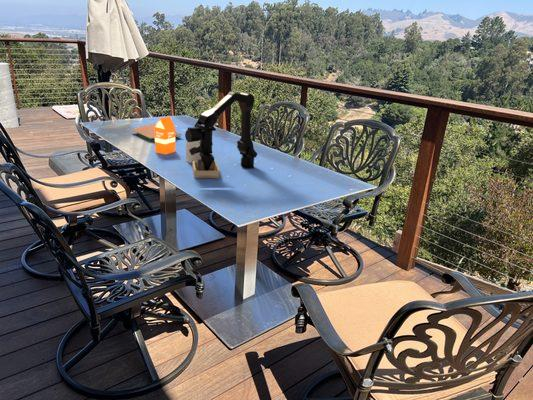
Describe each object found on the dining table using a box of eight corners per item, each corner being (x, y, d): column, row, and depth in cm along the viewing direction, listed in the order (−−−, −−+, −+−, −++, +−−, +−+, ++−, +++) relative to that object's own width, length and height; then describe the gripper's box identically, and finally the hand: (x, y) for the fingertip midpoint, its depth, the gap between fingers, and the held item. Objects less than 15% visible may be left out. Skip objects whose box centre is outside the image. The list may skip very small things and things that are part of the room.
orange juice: (155, 151, 224) (153, 117, 217) (165, 148, 232) (164, 115, 224) (165, 154, 221) (164, 119, 214) (175, 151, 229) (175, 117, 221)
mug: (189, 165, 206) (190, 145, 202) (183, 161, 213) (183, 141, 209) (210, 163, 213) (210, 144, 208) (203, 159, 219) (204, 139, 215)
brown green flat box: (152, 144, 240) (151, 131, 236) (128, 132, 261) (128, 120, 258) (184, 140, 255) (184, 128, 251) (159, 129, 276) (159, 118, 273)
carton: (215, 168, 206) (216, 160, 204) (219, 181, 189) (220, 172, 187) (192, 168, 203) (192, 160, 201) (194, 181, 186) (194, 172, 184)
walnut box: (213, 171, 199) (213, 157, 196) (214, 174, 194) (214, 160, 191) (197, 171, 197) (197, 157, 194) (198, 174, 192) (198, 160, 189)
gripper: (188, 134, 195) (188, 164, 201) (190, 144, 179) (190, 176, 185) (210, 135, 198) (210, 164, 204) (214, 145, 181) (213, 176, 187)
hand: (205, 170), depth 195 cm, fingers closed on walnut box, 5 cm apart
